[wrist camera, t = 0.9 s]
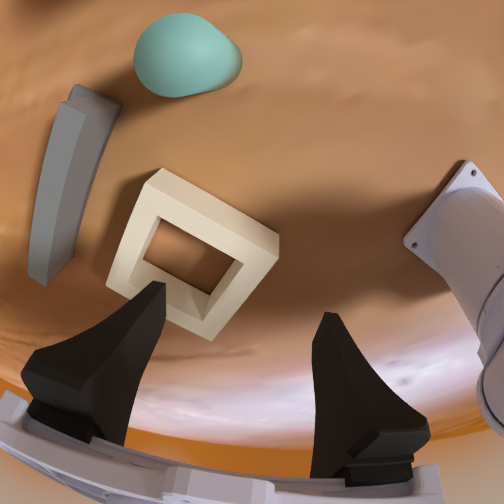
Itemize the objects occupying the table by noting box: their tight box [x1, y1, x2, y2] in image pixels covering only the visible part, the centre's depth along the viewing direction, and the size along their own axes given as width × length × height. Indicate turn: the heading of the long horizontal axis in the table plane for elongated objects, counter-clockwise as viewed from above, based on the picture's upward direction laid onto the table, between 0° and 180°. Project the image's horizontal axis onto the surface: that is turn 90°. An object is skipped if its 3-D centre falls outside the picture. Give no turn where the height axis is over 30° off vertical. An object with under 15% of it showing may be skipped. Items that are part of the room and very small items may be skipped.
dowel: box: [134, 13, 242, 97], centre depth 13 cm, size 4×4×7 cm
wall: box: [27, 84, 122, 288], centre depth 19 cm, size 4×14×4 cm, turn 149°
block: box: [105, 168, 279, 342], centre depth 21 cm, size 9×9×3 cm
